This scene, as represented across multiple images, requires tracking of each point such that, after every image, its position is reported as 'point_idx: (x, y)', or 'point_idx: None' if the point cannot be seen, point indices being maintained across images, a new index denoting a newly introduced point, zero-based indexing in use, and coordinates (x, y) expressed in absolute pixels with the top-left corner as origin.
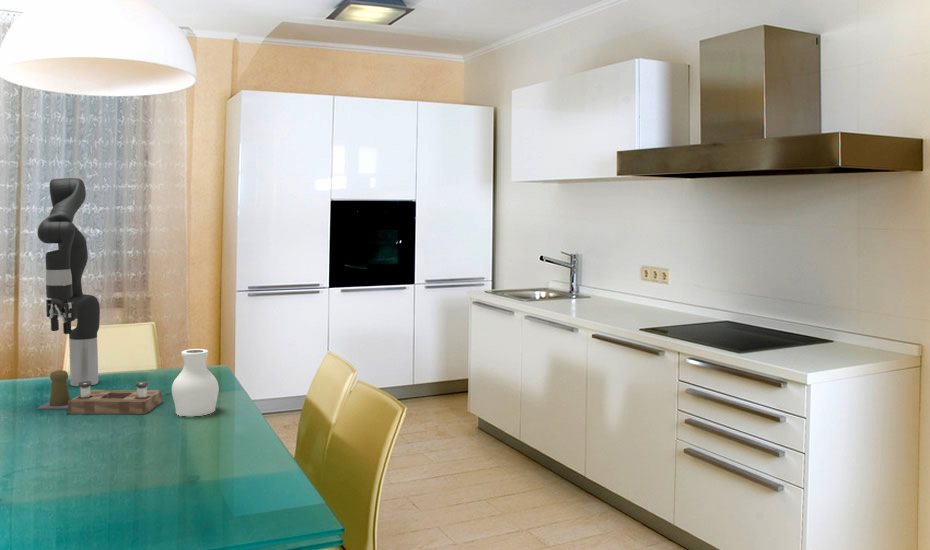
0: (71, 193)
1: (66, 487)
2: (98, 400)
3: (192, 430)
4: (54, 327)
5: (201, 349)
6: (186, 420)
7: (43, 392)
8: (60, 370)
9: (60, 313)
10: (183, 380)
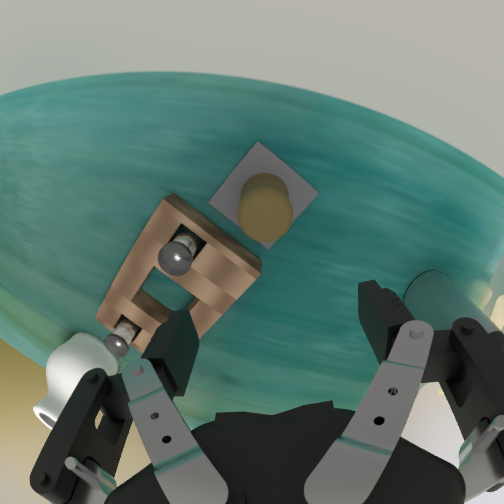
0: None
1: None
2: (136, 258)
3: (25, 309)
4: (365, 308)
5: None
6: (60, 327)
7: (420, 206)
8: (269, 225)
9: (131, 414)
10: (49, 370)
